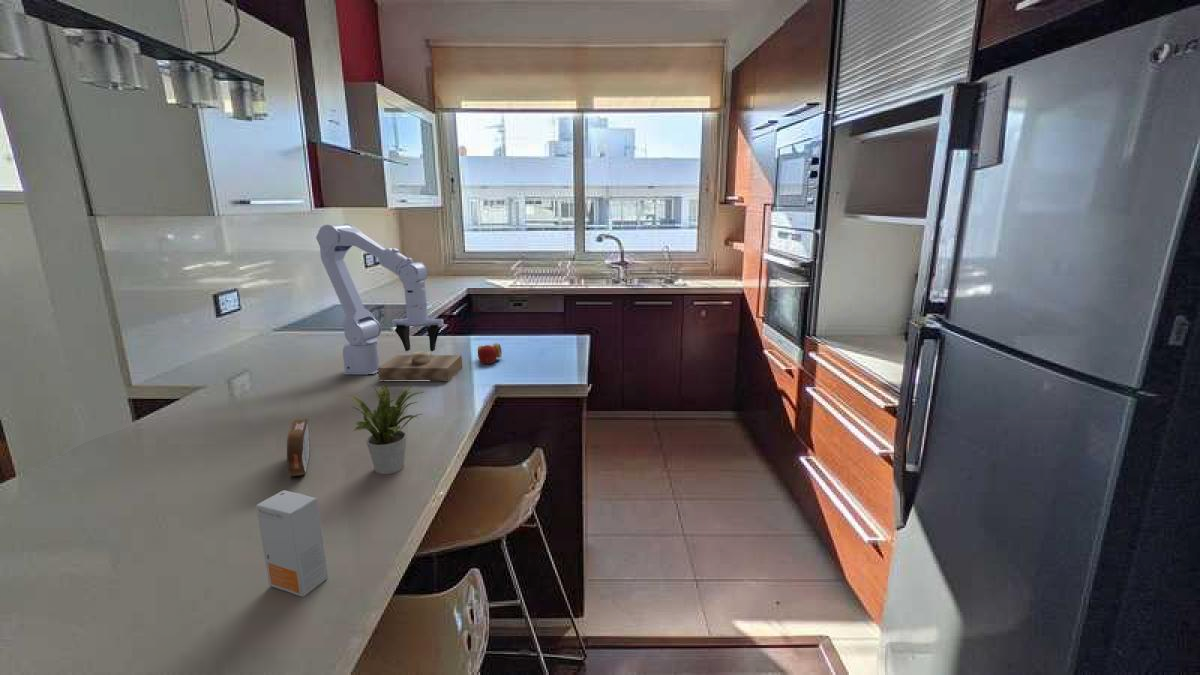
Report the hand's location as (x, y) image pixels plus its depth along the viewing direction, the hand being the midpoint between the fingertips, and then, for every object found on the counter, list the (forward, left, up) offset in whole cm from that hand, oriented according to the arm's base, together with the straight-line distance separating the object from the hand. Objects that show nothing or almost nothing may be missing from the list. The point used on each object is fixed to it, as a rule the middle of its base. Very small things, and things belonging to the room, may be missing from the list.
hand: (420, 350), depth 160 cm
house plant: (+17, -60, -8) cm, 63 cm away
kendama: (+16, +18, -8) cm, 26 cm away
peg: (0, 0, -7) cm, 7 cm away
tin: (-2, -59, -8) cm, 60 cm away
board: (0, 0, -7) cm, 7 cm away
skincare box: (+17, -92, -8) cm, 94 cm away
